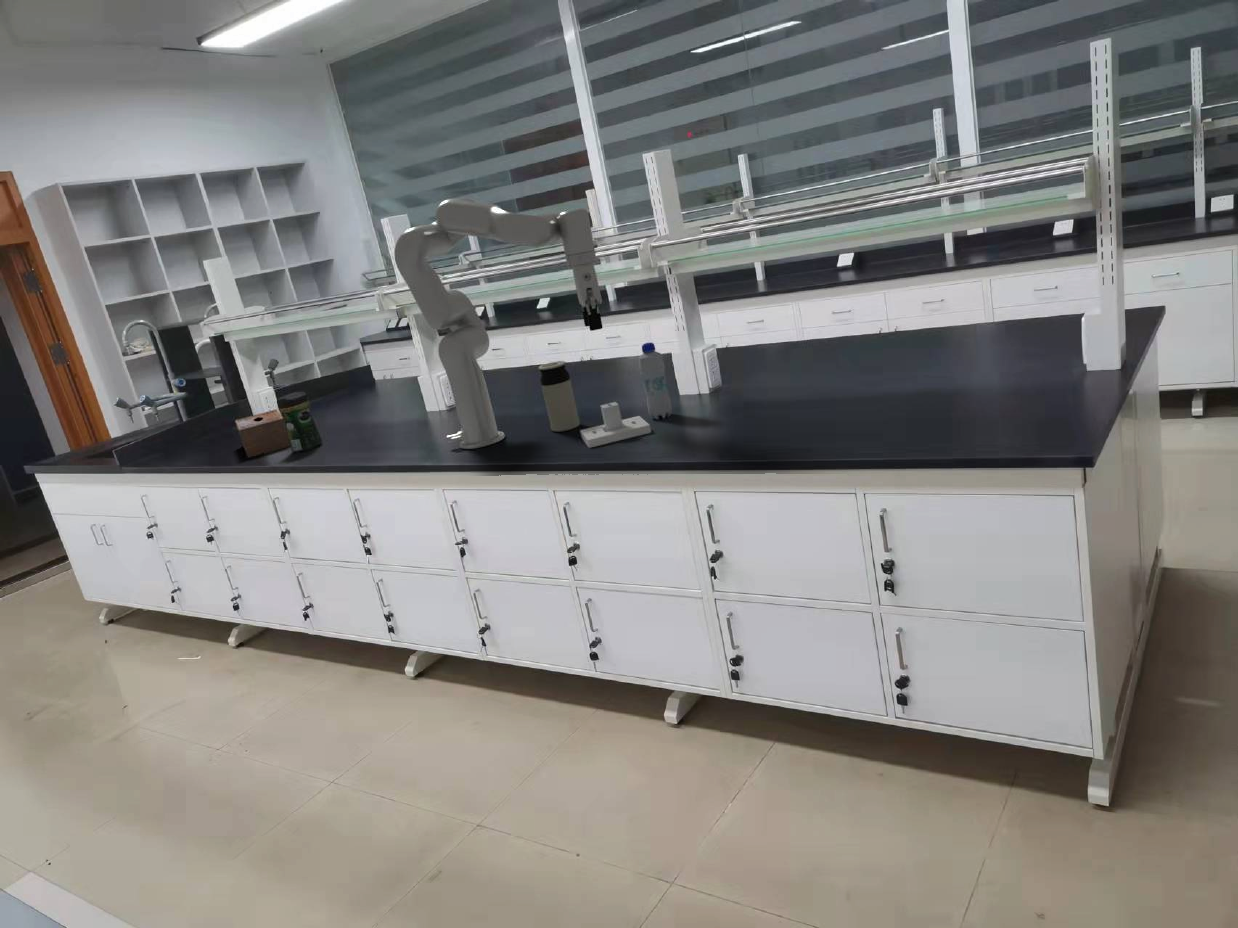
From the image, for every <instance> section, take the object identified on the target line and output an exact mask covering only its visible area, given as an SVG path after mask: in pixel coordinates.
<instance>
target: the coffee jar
mask: <svg viewBox="0 0 1238 928" xmlns="http://www.w3.org/2000/svg"><path fill="white" fill-rule="evenodd" d="M276 404H277V411H278V412H279V413H280V414H281V416H282V417H283V418H284V421H285V425H286V429H287V433H288V437H289V442H290V446H289V447H290V449H291V451H292V452H295V453H300V452H304V451H309V450H312V449H314V448H316V447H318V446H321V444H322V443H323V440H322V437H321V434H320V432H319V430H318V428H317V425H316V422H315V419H314V418H313V415H312V412H311V409H310V399H309V398H308V396H307V394H306V392H305V391H295V392H291V393H288V394H286V395H283V396H282V397H278V398H277V399H276Z"/></svg>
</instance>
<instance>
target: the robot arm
mask: <svg viewBox="0 0 1238 928" xmlns="http://www.w3.org/2000/svg"><path fill="white" fill-rule="evenodd" d="M469 236H470V237H477V238H483V239H491V240H494V241H497V242H501V243H505V244H510V245H516V246H523V247H530V248H532V247H533V248H541V247H546V246H549V245H553V244H556V243H560V242H562V246H563V251H564V256H565V261H566V265H567V269H569V270H571V269H572V275H573V279H574V284H575V289H576V295H577V298H578V303H579V304H580V305H581V309H582V312H581V313H582V318H583V323H584V327H589V331H590V332H593V331H597V330H602V329H604V328H603V323H602V322H603V321H602V315H601V313H600V310H599V305H601V304H603V303H602V302H603V299H602V295H601V291H600V286H599V282H598V277H597V272H596V269H595V268H596V267H595V265H596V264H598V262H597V255H596V250H595V243H594V239H593V232H592V227H591V222H590V217H589V212H588V211H587V209H585V208H581V207H580V208H575V209H569V210H564V211H561V212H549V213H548V212H547V213H541V214H537V215H531V214H523V213H518V212H517V213H516V212H515V213H514V212H510V211H507V210H504V209H502V208H501V206H499V205H497V204H495V203H494V204H493V203H486V202H479V201H478V202H476V201H475V200H473V199H471V198H468V197H456V198H449V199H445V200H444V201H442V202H441V203H440V204H438V206H437V208H436V210H435V221H434V222H431V223H430V224H425V225H423V224H422V225H418V226H414V227H410V228H408V229H406V230H404V232H403V233H401V234H400V236H399V237H398V239H397V240H396V243H395V246H394V261H395V265H396V268H397V270H398V271H399V273H400V275H401V277H402V279H403V280H404V282H405V283H406V285H407V287H408V288H409V291H410V293H411V295H412V297H413V299H414V300H415V303H416V304H417V306H418V308H419V310H420V311H421V314H422V316H423V317H424V320H425V321H426V323H427V325H428V326H430V327H431V328H432V329H434V330H436V331H437V330H438V331H439V330H445V329H450V331H451V332H450V331H449V332H448V333H447V334H445V335H444V336H443V337H442V338H441V339H440V341H439V344H438V347H437V348H438V350H437V351H438V352H437V353H438V357H439V360H440V362H441V364H442V367H443V369H444V371H445V374H446V377H447V380H448V382H449V387H450V390H451V393H452V398H453V401H454V405H455V408H456V412H457V417H458V420H459V423H460V431H458V432H457V433H455V434H450V435H446V439H447V442H448V443H457V442H459V446H460V448H461V449H464V450H470V449H471V450H473V449H479V448H484V447H486V446H491V445H493V444H496V443H498V442H500V441H502V440H503V439H504V438H505V437H506V435H505V433H504V432H503V431H500V430H498V427H497V423H496V419H495V414H494V410H493V407H492V403H491V398H490V393H489V391H488V386H487V383H486V379H485V376H484V375H485V374H484V372H483V370H482V368H481V366H480V364H479V363H478V361H477V360H479V359H480V358H481V357H483V356H485V354H487V352H488V350H489V347H490V338H489V334H488V332H487V329H486V327H485V325H484V324H483V321H482V320H481V318H480V317H479V314H478V312H477V310H476V308H475V306H474V304H473V303H472V301H471V299H470V298H469V297H468V296H467V295H466V294H465V293H464V292H462V291H460V290H457V289H447V288H446V287H445V286H444V284H443V282H442V280H441V277H440V276H439V275H438V273H437V271H436V270H435V269H434V268H433V267H432V265H430V264H429V262H428V259H431V258H432V259H433V258H435V257H439V256H440V257H441V256H442V255H445V254H447V253H448V252H450V251H451V250H452V249H453V248H455V247H456V246H457V245H458V244H460V242H462V241H463V240H464V239H465V238H466V237H469Z"/></svg>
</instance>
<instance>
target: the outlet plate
mask: <svg viewBox="0 0 1238 928" xmlns="http://www.w3.org/2000/svg"><path fill="white" fill-rule="evenodd" d="M622 424H623V428H622V429H618V430H613V431H609V432H606V430H605V425H604V424H601V425H597V426H592V427H588V428H584V429H580V430H579V432H580V436H581V439H582V440H583V442H584V443H585V445H587V447H588V448H589V449H590V448H595V447H598V446H602V445H607V444H610V443H615V442H618V441H622V440H627V439H630V438H634V437H640V436H643V435H646V434H651V433H652V430H651V425H650V424H649V423H648V422H647V421H646V420H645V419H644V418H642V417H641V416H640V415H637V416H633V417H628V418H625V419H622Z"/></svg>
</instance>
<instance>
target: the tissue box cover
mask: <svg viewBox="0 0 1238 928" xmlns="http://www.w3.org/2000/svg"><path fill="white" fill-rule="evenodd" d="M234 421H235V422H234V423H235V424H236V425H235V426H236V429H237V431H238V433H239V438H240V439H241V443H242V446H243V449H244V450H245V453H246V456H247V457H246V458H248V459H249V457H250V458H253V457H252V456H254V457H257V456H260V454H261V455H263V454H262V453H264V454H267V453H271V452H274V451H273V450H275V451H277V450H282V449H285V448H288V447H291V446H290V442H289V437H288V433H287V429H286V425H285V421H284V418H283V416H282V414H281V413H280V412H279V410H278V408H277V409H273V410H269V411H265V412H261V413H258V414H254V415H250V416H246V417H242V418H238V419H235V420H234ZM270 451H271V452H270ZM256 455H257V456H256Z"/></svg>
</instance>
